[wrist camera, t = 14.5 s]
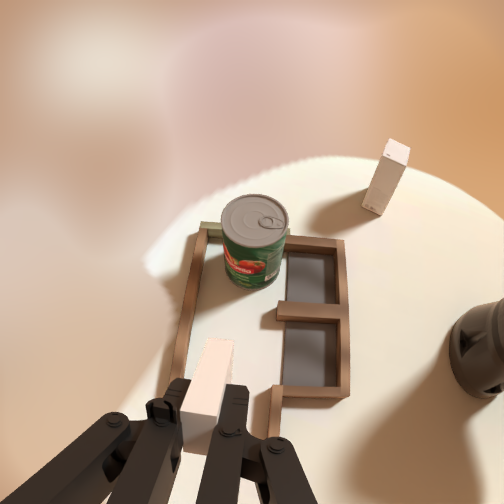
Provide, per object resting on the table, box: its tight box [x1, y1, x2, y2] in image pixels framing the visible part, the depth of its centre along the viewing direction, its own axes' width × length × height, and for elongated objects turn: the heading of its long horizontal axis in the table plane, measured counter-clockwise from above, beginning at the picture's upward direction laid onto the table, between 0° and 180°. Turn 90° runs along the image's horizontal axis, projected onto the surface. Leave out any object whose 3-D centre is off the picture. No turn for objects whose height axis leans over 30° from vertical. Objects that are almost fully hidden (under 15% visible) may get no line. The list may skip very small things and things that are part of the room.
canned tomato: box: [221, 194, 289, 290], centre depth 41 cm, size 8×8×11 cm
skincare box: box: [361, 138, 410, 216], centre depth 48 cm, size 6×4×12 cm
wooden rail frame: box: [169, 221, 350, 438], centre depth 39 cm, size 30×22×2 cm
